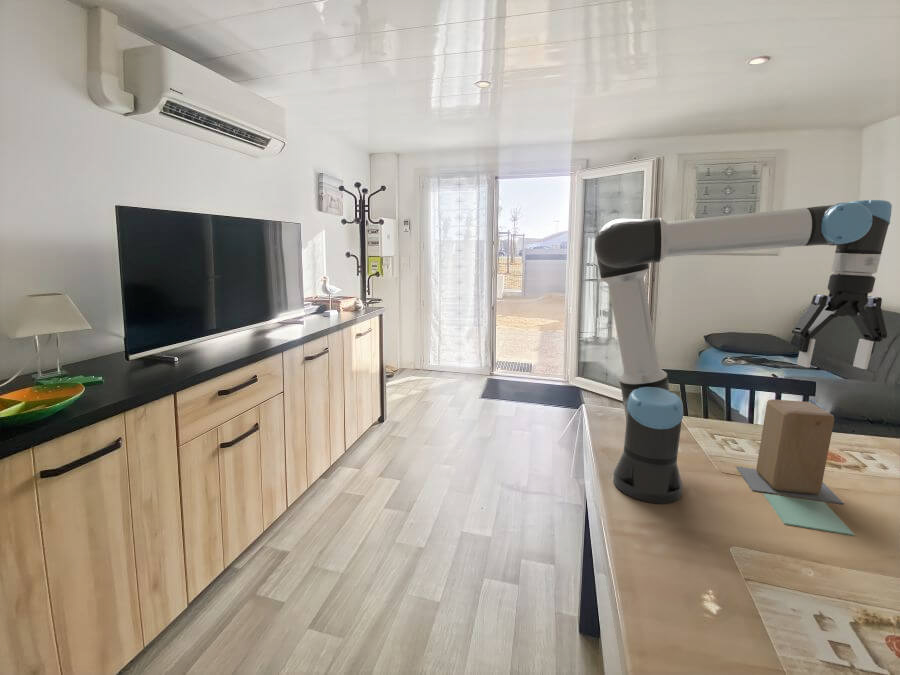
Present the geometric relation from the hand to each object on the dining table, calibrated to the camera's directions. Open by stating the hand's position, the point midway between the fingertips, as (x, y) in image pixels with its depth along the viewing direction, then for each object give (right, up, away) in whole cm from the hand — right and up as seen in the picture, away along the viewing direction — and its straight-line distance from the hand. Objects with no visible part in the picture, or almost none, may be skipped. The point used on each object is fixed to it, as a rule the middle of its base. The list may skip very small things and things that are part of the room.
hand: (831, 366), depth 101 cm
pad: (-10, -32, -5) cm, 34 cm away
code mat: (-5, -29, +7) cm, 31 cm away
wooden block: (-5, -29, +7) cm, 31 cm away
